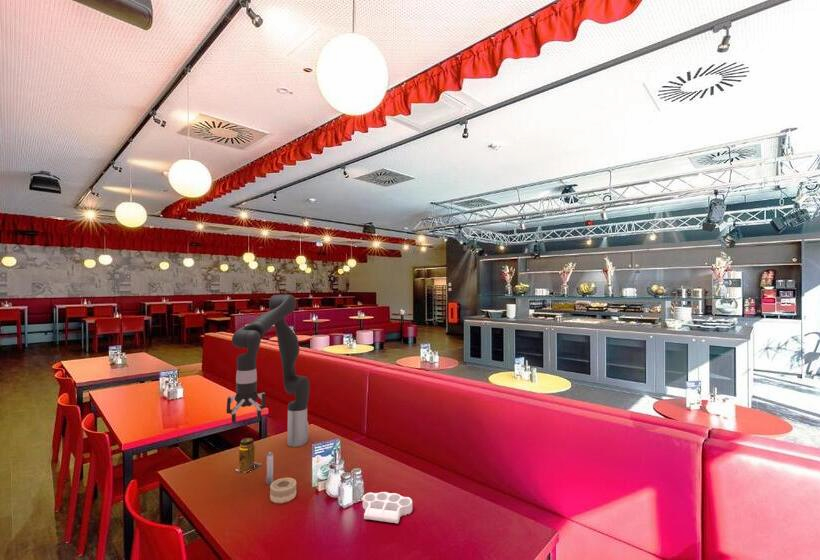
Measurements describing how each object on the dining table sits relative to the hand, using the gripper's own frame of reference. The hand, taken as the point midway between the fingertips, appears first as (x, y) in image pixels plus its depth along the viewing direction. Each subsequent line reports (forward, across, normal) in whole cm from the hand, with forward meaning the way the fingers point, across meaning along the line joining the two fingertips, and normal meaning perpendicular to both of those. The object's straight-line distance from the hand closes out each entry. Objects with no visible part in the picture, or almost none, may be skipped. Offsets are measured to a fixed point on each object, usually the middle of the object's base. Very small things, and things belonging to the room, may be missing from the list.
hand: (246, 421), depth 148 cm
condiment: (+25, -1, -14) cm, 29 cm away
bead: (+25, -12, +16) cm, 32 cm away
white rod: (+25, -8, +3) cm, 26 cm away
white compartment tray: (+26, -44, +40) cm, 64 cm away
